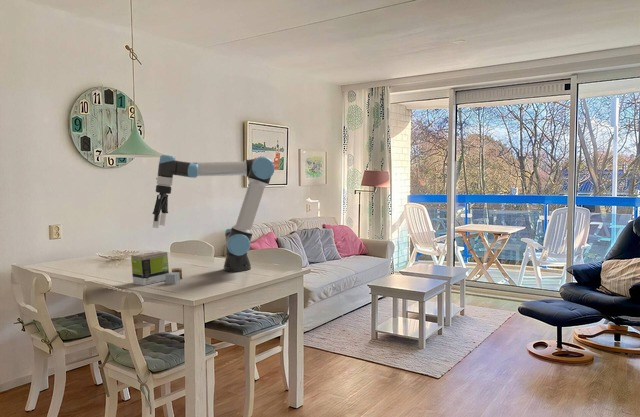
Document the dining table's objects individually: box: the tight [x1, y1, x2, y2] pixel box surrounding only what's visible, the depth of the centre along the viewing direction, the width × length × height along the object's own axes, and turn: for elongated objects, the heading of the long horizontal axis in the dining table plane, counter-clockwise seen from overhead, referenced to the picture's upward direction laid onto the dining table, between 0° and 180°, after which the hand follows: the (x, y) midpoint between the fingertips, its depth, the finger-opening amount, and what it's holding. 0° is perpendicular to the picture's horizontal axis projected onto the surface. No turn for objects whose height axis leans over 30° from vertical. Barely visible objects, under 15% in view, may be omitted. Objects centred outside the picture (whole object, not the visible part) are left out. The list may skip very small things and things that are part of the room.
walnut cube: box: [171, 267, 183, 280], centre depth 254 cm, size 5×5×5 cm
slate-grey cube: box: [165, 271, 181, 285], centre depth 243 cm, size 5×5×5 cm
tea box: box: [130, 250, 170, 286], centre depth 248 cm, size 15×10×15 cm
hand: (158, 226), depth 250 cm, fingers open, 13 cm apart
